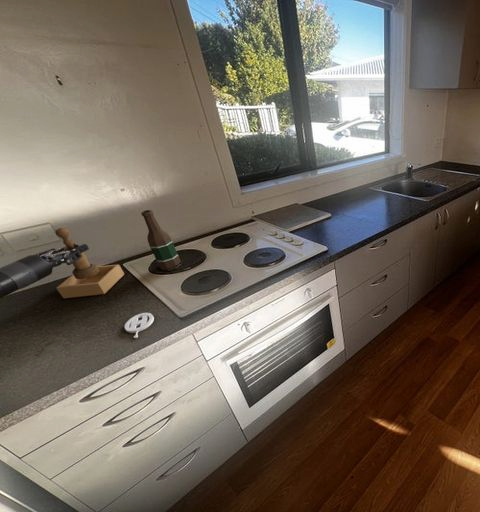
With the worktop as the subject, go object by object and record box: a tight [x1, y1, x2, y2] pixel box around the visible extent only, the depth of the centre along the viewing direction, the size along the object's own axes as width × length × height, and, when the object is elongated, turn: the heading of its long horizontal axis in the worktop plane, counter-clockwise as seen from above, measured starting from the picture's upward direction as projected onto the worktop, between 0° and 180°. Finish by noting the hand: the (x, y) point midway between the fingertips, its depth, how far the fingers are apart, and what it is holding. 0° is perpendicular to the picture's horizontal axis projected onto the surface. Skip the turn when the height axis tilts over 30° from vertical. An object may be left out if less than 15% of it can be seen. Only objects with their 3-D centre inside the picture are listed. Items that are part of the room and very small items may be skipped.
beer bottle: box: [140, 209, 182, 272], centre depth 112 cm, size 8×8×24 cm
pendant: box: [124, 312, 155, 339], centre depth 89 cm, size 7×11×1 cm, turn 29°
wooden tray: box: [55, 264, 125, 299], centre depth 106 cm, size 13×13×5 cm
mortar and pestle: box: [54, 227, 99, 279], centre depth 100 cm, size 7×6×18 cm
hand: (81, 246), depth 101 cm, fingers closed on mortar and pestle, 4 cm apart
